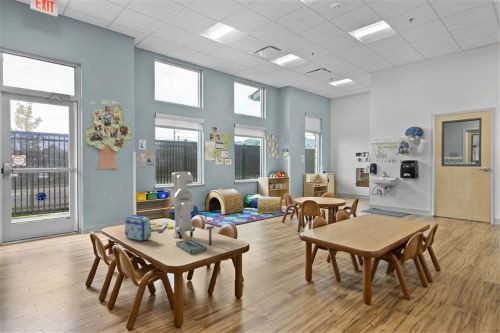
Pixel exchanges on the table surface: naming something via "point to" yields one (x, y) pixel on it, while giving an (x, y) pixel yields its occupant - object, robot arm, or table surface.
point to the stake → (210, 234)
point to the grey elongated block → (185, 242)
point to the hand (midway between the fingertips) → (185, 238)
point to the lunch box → (137, 228)
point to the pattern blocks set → (159, 227)
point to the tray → (188, 250)
